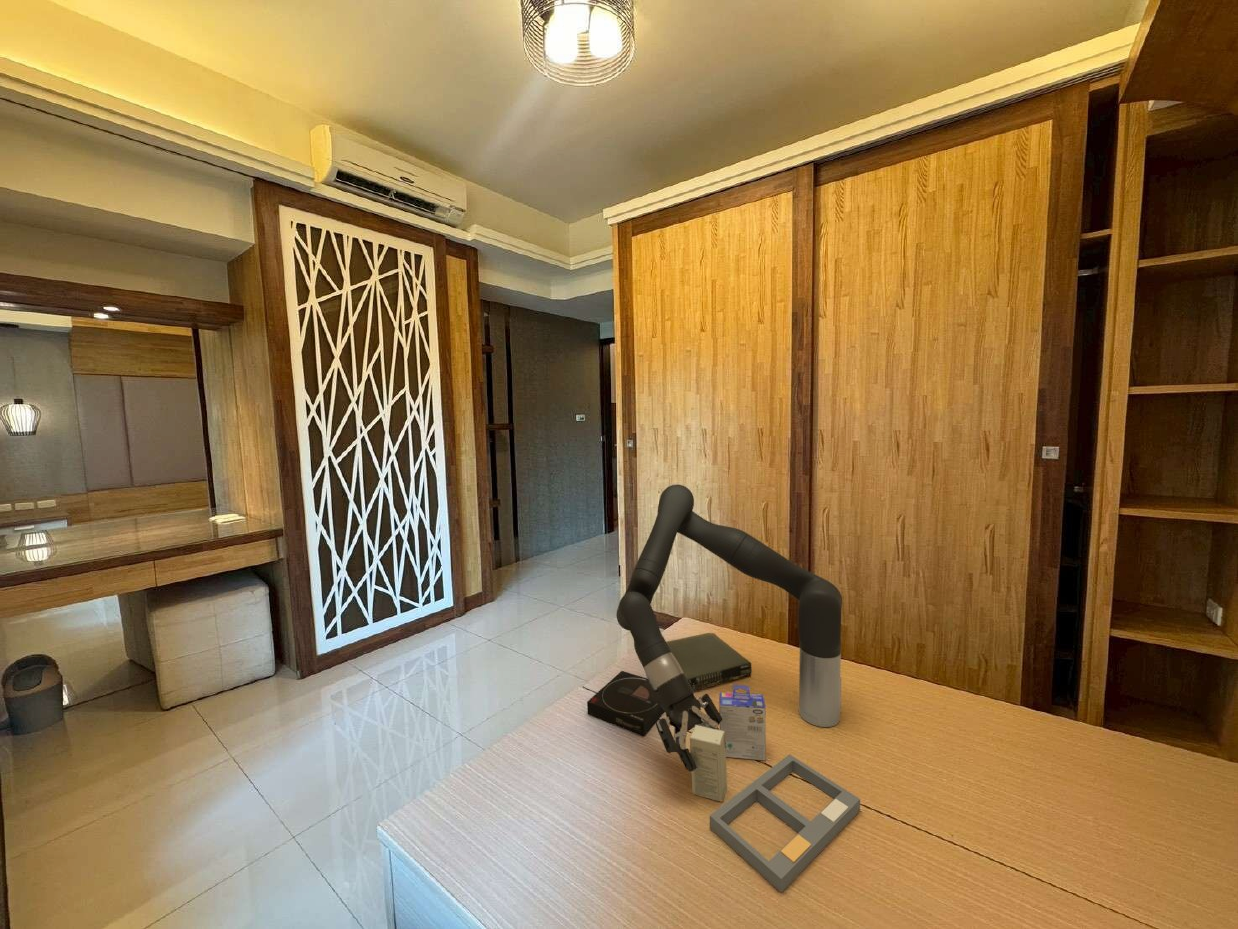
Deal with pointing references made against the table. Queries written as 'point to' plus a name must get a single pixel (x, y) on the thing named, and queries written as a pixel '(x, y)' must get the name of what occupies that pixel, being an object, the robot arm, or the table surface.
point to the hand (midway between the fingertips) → (708, 759)
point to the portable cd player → (627, 704)
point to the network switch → (708, 660)
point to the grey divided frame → (787, 822)
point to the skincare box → (708, 762)
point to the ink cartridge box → (743, 724)
